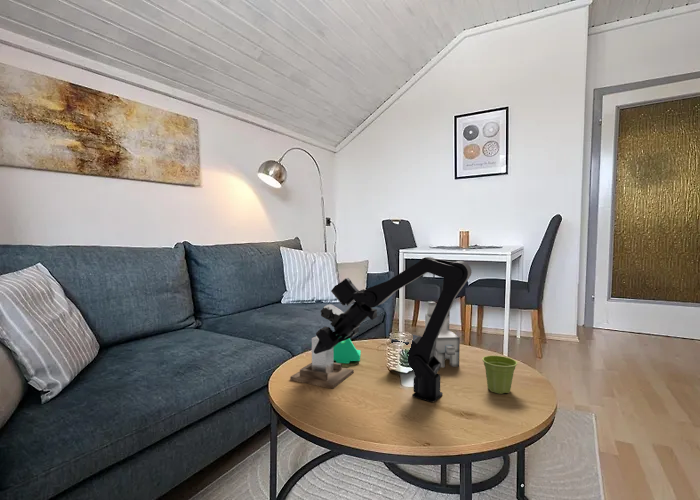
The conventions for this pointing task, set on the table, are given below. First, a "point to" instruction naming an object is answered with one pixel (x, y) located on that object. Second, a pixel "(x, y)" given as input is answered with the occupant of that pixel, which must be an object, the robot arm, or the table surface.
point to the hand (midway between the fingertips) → (322, 348)
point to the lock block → (322, 359)
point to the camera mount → (346, 352)
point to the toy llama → (445, 340)
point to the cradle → (322, 376)
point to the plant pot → (499, 373)
